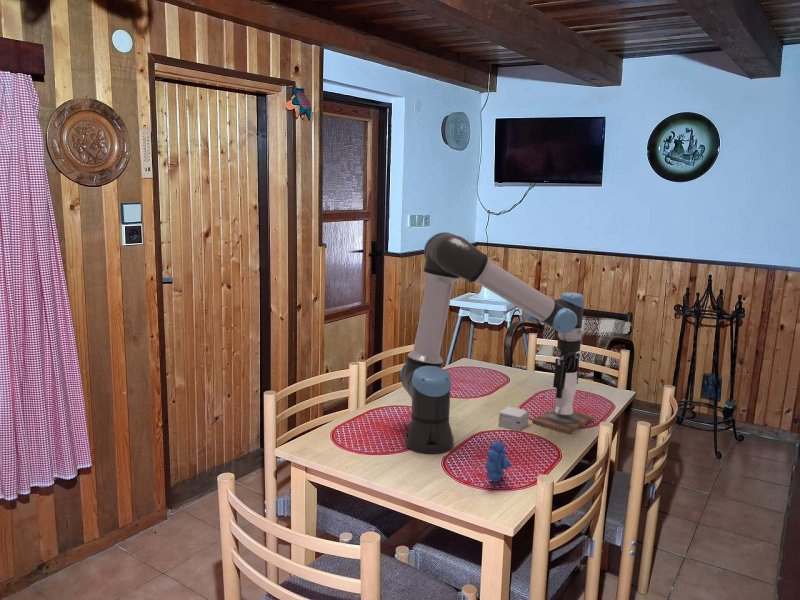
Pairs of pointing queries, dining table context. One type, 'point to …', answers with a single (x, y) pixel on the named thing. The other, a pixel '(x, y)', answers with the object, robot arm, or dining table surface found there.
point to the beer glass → (568, 394)
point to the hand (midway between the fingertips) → (564, 404)
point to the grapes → (496, 461)
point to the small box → (513, 418)
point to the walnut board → (562, 421)
